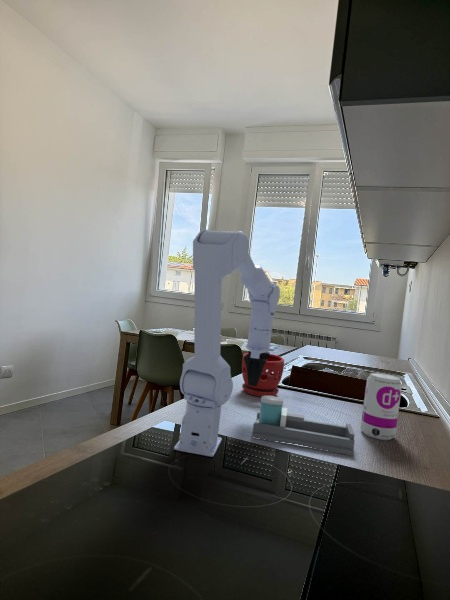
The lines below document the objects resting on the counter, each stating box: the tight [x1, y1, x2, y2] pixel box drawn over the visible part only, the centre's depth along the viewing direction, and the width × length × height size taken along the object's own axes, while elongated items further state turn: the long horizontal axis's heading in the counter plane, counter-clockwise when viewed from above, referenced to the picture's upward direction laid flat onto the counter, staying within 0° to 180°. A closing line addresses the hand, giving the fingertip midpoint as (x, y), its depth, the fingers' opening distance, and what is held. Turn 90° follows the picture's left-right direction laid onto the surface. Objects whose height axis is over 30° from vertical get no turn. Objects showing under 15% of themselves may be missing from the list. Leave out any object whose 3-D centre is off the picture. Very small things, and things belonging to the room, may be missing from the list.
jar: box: [259, 395, 284, 426], centre depth 98 cm, size 5×5×7 cm
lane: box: [251, 411, 355, 457], centre depth 97 cm, size 11×22×4 cm, turn 80°
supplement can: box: [360, 372, 403, 441], centre depth 106 cm, size 8×8×15 cm
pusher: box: [280, 406, 305, 427], centre depth 98 cm, size 6×5×4 cm
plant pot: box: [241, 352, 285, 397], centre depth 133 cm, size 13×13×12 cm
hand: (254, 382), depth 107 cm, fingers open, 7 cm apart
